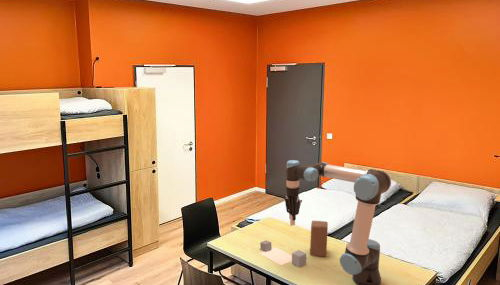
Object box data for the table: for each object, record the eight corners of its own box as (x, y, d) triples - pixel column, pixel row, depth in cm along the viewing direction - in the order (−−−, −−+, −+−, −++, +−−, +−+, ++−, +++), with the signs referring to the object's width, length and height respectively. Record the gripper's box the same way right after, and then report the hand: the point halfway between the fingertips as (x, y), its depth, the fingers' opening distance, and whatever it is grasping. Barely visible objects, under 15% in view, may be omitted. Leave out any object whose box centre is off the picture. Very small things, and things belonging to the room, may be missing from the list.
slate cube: (306, 264, 230) (306, 253, 228) (299, 267, 226) (299, 256, 224) (298, 260, 234) (298, 250, 233) (291, 263, 230) (292, 253, 229)
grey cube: (271, 249, 247) (271, 242, 247) (265, 251, 244) (265, 244, 243) (266, 247, 251) (266, 240, 250) (260, 249, 248) (260, 242, 247)
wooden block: (326, 257, 238) (327, 227, 235) (309, 256, 240) (311, 225, 236) (326, 250, 248) (327, 221, 244) (310, 248, 250) (311, 219, 246)
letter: (297, 258, 236) (297, 258, 236) (281, 266, 227) (281, 265, 227) (274, 247, 251) (275, 247, 251) (258, 253, 242) (258, 253, 242)
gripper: (305, 187, 223) (304, 226, 227) (289, 183, 233) (289, 220, 236) (296, 190, 218) (296, 229, 222) (280, 185, 228) (280, 223, 232)
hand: (292, 224), depth 229 cm, fingers closed
